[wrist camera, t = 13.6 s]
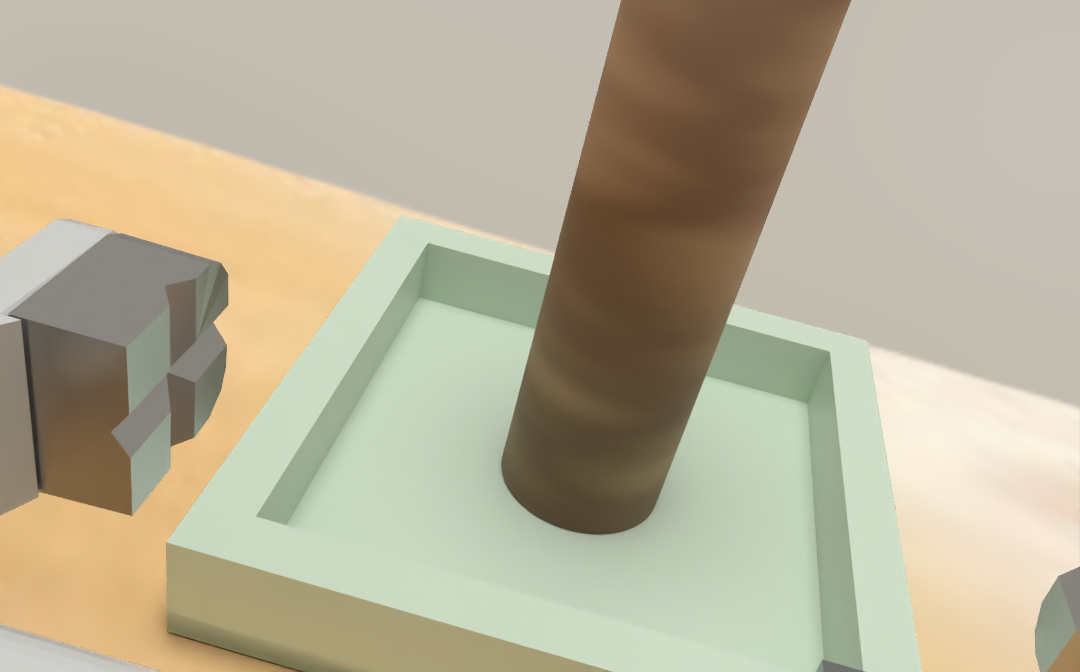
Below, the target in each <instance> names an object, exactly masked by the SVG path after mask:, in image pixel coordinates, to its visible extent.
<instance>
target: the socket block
mask: <svg viewBox="0 0 1080 672" xmlns="http://www.w3.org/2000/svg"><path fill="white" fill-rule="evenodd" d="M816 672H865V671H861V670H858V669H854V668H851V667H847V666H844V665H840V664H837V663H833V662H830V661H826V660H823V659H822V661H821V663H820V665H819V667H818V669H817V670H816Z"/></svg>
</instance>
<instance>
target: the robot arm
mask: <svg viewBox="0 0 1080 672" xmlns="http://www.w3.org/2000/svg"><path fill="white" fill-rule="evenodd" d="M227 306H228V273H227V272H226V270H225V269H224V267H223V266H222V264H221V263H220V262H216V261H213V260H210V259H206V258H203V257H200V256H196V255H193V254H189V253H186V252H183V251H179V250H176V249H173V248H169V247H166V246H162V245H159V244H156V243H152V242H149V241H146V240H142V239H139V238H135V237H132V236H129V235H125V234H122V233H121V234H118V233H116V232H115V231H113V230H109V229H105V228H101V227H98V226H94V225H90V224H86V223H82V222H79V221H75V220H71V219H56V220H54V221H53V222H51V223H50V224H48V225H47V226H46V227H44V228H43V229H41V230H40V231H39V232H37V233H36V234H34V235H33V236H32V237H30V238H29V239H27V240H26V241H24V242H23V243H22V244H20V245H19V246H17V247H16V248H15V249H13V250H12V251H10V252H9V253H8V254H6V255H5V256H3V257H2V258H0V515H2V514H4V513H6V512H8V511H11V510H13V509H15V508H17V507H19V506H21V505H23V504H25V503H27V502H29V501H31V500H33V499H35V498H37V497H38V496H39V492H41V493H45V494H49V495H53V496H57V497H61V498H65V499H69V500H72V501H76V502H80V503H84V504H88V505H92V506H96V507H99V508H103V509H107V510H111V511H115V512H119V513H123V514H126V515H130V516H133V514H134V513H135V512H136V511H137V509H138V508H139V507H140V506H141V504H142V503H143V502H144V501H145V499H146V498H147V497H148V496H149V494H150V493H151V492H152V490H153V489H154V488H155V487H156V485H157V484H158V483H159V482H160V480H161V479H162V478H163V477H164V475H165V474H166V473H167V472H168V470H169V469H170V446H173V445H176V444H178V443H181V442H184V441H186V440H189V439H192V438H194V437H195V436H196V434H197V433H198V432H199V430H200V429H201V428H202V426H203V425H204V424H205V422H206V421H207V420H208V418H209V416H210V414H211V412H212V409H213V407H214V405H215V403H216V400H217V398H218V396H219V393H220V391H221V387H222V382H223V378H224V373H225V368H226V351H227V344H226V343H225V341H224V339H223V338H222V336H221V335H220V333H219V331H218V330H217V328H216V327H215V325H214V323H213V322H214V320H215V319H216V318H217V317H218V316H219V315H220V314H221V313H222V311H223V310H224V309H225V308H226V307H227ZM1035 648H1036V657H1037V661H1038V665H1039V669H1040V672H1080V567H1078V568H1076V569H1074V570H1071V571H1069V572H1067V573H1065V574H1062V575H1060V576H1058V578H1057V580H1056V581H1055V583H1054V584H1053V586H1052V588H1051V589H1050V591H1049V592H1048V594H1047V596H1046V597H1045V599H1044V600H1043V602H1042V605H1041V609H1040V613H1039V617H1038V621H1037V625H1036V629H1035ZM0 672H162V671H159V670H156V669H152V668H149V667H145V666H142V665H139V664H135V663H132V662H129V661H125V660H122V659H118V658H115V657H112V656H108V655H105V654H102V653H98V652H95V651H91V650H88V649H85V648H81V647H78V646H74V645H71V644H68V643H64V642H61V641H58V640H54V639H51V638H47V637H44V636H41V635H37V634H34V633H31V632H27V631H24V630H20V629H17V628H14V627H10V626H7V625H3V624H0Z"/></svg>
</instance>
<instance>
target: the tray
mask: <svg viewBox="0 0 1080 672" xmlns="http://www.w3.org/2000/svg"><path fill="white" fill-rule="evenodd" d="M553 260H554V256H551V255H547V254H543V253H540V252H536V251H532V250H529V249H525V248H521V247H518V246H514V245H510V244H506V243H503V242H499V241H495V240H492V239H488V238H484V237H480V236H477V235H473V234H469V233H466V232H462V231H458V230H454V229H451V228H447V227H443V226H440V225H436V224H432V223H428V222H425V221H421V220H417V219H414V218H410V217H406V216H403V215H401V216H400V217H399V218H398V220H397V221H396V223H395V224H394V225H393V227H392V228H391V230H390V231H389V232H388V234H387V235H386V237H385V238H384V239H383V241H382V242H381V244H380V245H379V246H378V248H377V249H376V251H375V252H374V253H373V255H372V256H371V258H370V259H369V260H368V262H367V263H366V264H365V266H364V267H363V269H362V270H361V271H360V273H359V274H358V276H357V277H356V278H355V280H354V281H353V283H352V284H351V285H350V287H349V288H348V290H347V291H346V292H345V294H344V295H343V297H342V298H341V299H340V301H339V302H338V304H337V305H336V306H335V308H334V309H333V311H332V312H331V313H330V315H329V316H328V317H327V319H326V320H325V322H324V323H323V324H322V326H321V327H320V329H319V330H318V331H317V333H316V334H315V336H314V337H313V338H312V340H311V341H310V343H309V344H308V345H307V347H306V348H305V350H304V351H303V352H302V354H301V355H300V357H299V358H298V359H297V361H296V362H295V364H294V365H293V366H292V368H291V369H290V370H289V372H288V373H287V375H286V376H285V377H284V379H283V380H282V382H281V383H280V384H279V386H278V387H277V389H276V390H275V391H274V393H273V394H272V396H271V397H270V398H269V400H268V401H267V403H266V404H265V405H264V407H263V408H262V410H261V411H260V412H259V414H258V415H257V417H256V418H255V419H254V421H253V422H252V423H251V425H250V426H249V428H248V429H247V430H246V432H245V433H244V435H243V436H242V437H241V439H240V440H239V442H238V443H237V444H236V446H235V447H234V449H233V450H232V451H231V453H230V454H229V456H228V457H227V458H226V460H225V461H224V463H223V464H222V465H221V467H220V468H219V470H218V471H217V472H216V474H215V475H214V476H213V478H212V479H211V481H210V482H209V483H208V485H207V486H206V488H205V489H204V490H203V492H202V493H201V495H200V496H199V497H198V499H197V500H196V502H195V503H194V504H193V506H192V507H191V509H190V510H189V511H188V513H187V514H186V516H185V517H184V518H183V520H182V521H181V523H180V524H179V525H178V527H177V528H176V529H175V531H174V532H173V534H172V535H171V536H170V538H169V539H168V541H167V542H166V565H167V632H170V633H173V634H177V635H180V636H184V637H187V638H190V639H194V640H197V641H201V642H204V643H207V644H211V645H214V646H218V647H221V648H224V649H228V650H231V651H235V652H238V653H241V654H245V655H248V656H252V657H255V658H258V659H262V660H265V661H269V662H272V663H275V664H279V665H282V666H286V667H289V668H292V669H296V670H299V671H303V672H816V670H817V669H818V667H819V665H820V663H821V661H822V659H823V660H826V661H830V662H833V663H837V664H840V665H844V666H847V667H851V668H854V669H858V670H861V671H865V672H922V667H921V661H920V655H919V649H918V643H917V637H916V631H915V625H914V619H913V613H912V607H911V601H910V595H909V589H908V583H907V577H906V571H905V565H904V559H903V553H902V547H901V540H900V534H899V528H898V522H897V516H896V510H895V504H894V498H893V492H892V486H891V480H890V474H889V468H888V462H887V456H886V450H885V444H884V438H883V432H882V426H881V420H880V414H879V408H878V402H877V395H876V389H875V383H874V377H873V371H872V365H871V359H870V353H869V347H868V341H866V340H863V339H859V338H855V337H851V336H848V335H844V334H840V333H837V332H833V331H829V330H825V329H822V328H818V327H814V326H811V325H807V324H803V323H799V322H796V321H792V320H788V319H785V318H781V317H777V316H773V315H770V314H766V313H762V312H759V311H755V310H751V309H748V308H744V307H740V306H736V305H733V307H732V309H731V312H730V314H729V317H728V319H727V322H726V325H725V327H724V330H723V332H722V335H721V338H720V340H719V343H718V345H717V348H716V350H715V353H714V356H713V358H712V361H711V363H710V366H709V368H708V371H707V374H706V376H705V379H704V381H703V384H702V387H701V389H700V392H699V394H698V397H697V399H696V402H695V405H694V407H693V410H692V412H691V415H690V418H689V420H688V423H687V425H686V428H685V430H684V433H683V436H682V438H681V441H680V443H679V446H678V449H677V451H676V454H675V456H674V459H673V461H672V464H671V467H670V469H669V472H668V474H667V477H666V480H665V482H664V485H663V487H662V490H661V492H660V495H659V498H658V500H657V503H656V505H655V507H654V509H653V511H652V513H651V514H650V515H649V517H648V518H647V519H646V520H644V521H643V522H642V523H641V524H639V525H637V526H636V527H634V528H631V529H629V530H626V531H623V532H619V533H613V534H586V533H580V532H575V531H571V530H567V529H564V528H561V527H559V526H556V525H554V524H552V523H549V522H547V521H545V520H543V519H542V518H540V517H538V516H537V515H535V514H534V513H532V512H531V511H530V510H528V509H527V508H526V507H525V506H524V505H522V504H521V503H520V502H519V501H518V500H517V498H516V497H515V496H514V495H513V494H512V492H511V491H510V489H509V488H508V486H507V484H506V482H505V479H504V476H503V473H502V467H501V462H502V455H503V451H504V447H505V444H506V440H507V436H508V432H509V428H510V424H511V421H512V417H513V413H514V409H515V405H516V401H517V398H518V394H519V390H520V386H521V382H522V379H523V375H524V371H525V367H526V363H527V359H528V356H529V352H530V348H531V344H532V340H533V336H534V333H535V329H536V325H537V321H538V317H539V313H540V310H541V306H542V302H543V298H544V294H545V291H546V287H547V283H548V279H549V275H550V271H551V268H552V264H553Z"/></svg>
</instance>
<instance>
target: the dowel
mask: <svg viewBox="0 0 1080 672" xmlns="http://www.w3.org/2000/svg"><path fill="white" fill-rule="evenodd" d="M850 2H851V0H621V4H620V7H619V11H618V15H617V19H616V23H615V27H614V30H613V34H612V38H611V42H610V46H609V50H608V53H607V57H606V61H605V65H604V69H603V72H602V77H601V80H600V84H599V88H598V92H597V95H596V99H595V103H594V107H593V111H592V114H591V118H590V122H589V126H588V130H587V134H586V138H585V142H584V145H583V149H582V153H581V157H580V160H579V165H578V168H577V172H576V176H575V180H574V183H573V187H572V191H571V195H570V199H569V202H568V206H567V210H566V214H565V218H564V222H563V225H562V229H561V233H560V237H559V241H558V245H557V248H556V252H555V256H554V260H553V264H552V268H551V271H550V275H549V279H548V283H547V287H546V291H545V294H544V298H543V302H542V306H541V310H540V313H539V317H538V321H537V325H536V329H535V333H534V336H533V340H532V344H531V348H530V352H529V356H528V359H527V363H526V367H525V371H524V375H523V379H522V382H521V386H520V390H519V394H518V398H517V401H516V405H515V409H514V413H513V417H512V421H511V424H510V428H509V432H508V436H507V440H506V444H505V447H504V451H503V455H502V462H501V467H502V473H503V476H504V479H505V482H506V484H507V486H508V488H509V489H510V491H511V492H512V494H513V495H514V496H515V497H516V498H517V500H518V501H519V502H520V503H521V504H522V505H524V506H525V507H526V508H527V509H528V510H530V511H531V512H532V513H534V514H535V515H537V516H538V517H540V518H542V519H543V520H545V521H547V522H549V523H552V524H554V525H556V526H559V527H561V528H564V529H567V530H571V531H575V532H580V533H586V534H613V533H619V532H623V531H626V530H629V529H631V528H634V527H636V526H637V525H639V524H641V523H642V522H643V521H644V520H646V519H647V518H648V517H649V515H650V514H651V513H652V511H653V509H654V507H655V505H656V503H657V500H658V498H659V495H660V492H661V490H662V487H663V485H664V482H665V480H666V477H667V474H668V472H669V469H670V467H671V464H672V461H673V459H674V456H675V454H676V451H677V449H678V446H679V443H680V441H681V438H682V436H683V433H684V430H685V428H686V425H687V423H688V420H689V418H690V415H691V412H692V410H693V407H694V405H695V402H696V399H697V397H698V394H699V392H700V389H701V387H702V384H703V381H704V379H705V376H706V374H707V371H708V368H709V366H710V363H711V361H712V358H713V356H714V353H715V350H716V348H717V345H718V343H719V340H720V338H721V335H722V332H723V330H724V327H725V325H726V322H727V319H728V317H729V314H730V312H731V309H732V307H733V304H734V301H735V298H736V296H737V294H738V291H739V288H740V285H741V283H742V280H743V278H744V276H745V273H746V270H747V268H748V265H749V263H750V260H751V257H752V255H753V252H754V249H755V247H756V245H757V242H758V239H759V237H760V234H761V232H762V229H763V226H764V224H765V221H766V219H767V216H768V213H769V211H770V208H771V206H772V203H773V201H774V198H775V195H776V193H777V190H778V188H779V185H780V182H781V180H782V177H783V175H784V172H785V170H786V167H787V165H788V162H789V159H790V157H791V154H792V152H793V149H794V146H795V144H796V141H797V138H798V136H799V133H800V131H801V128H802V126H803V123H804V120H805V118H806V115H807V113H808V110H809V108H810V105H811V102H812V100H813V97H814V95H815V92H816V89H817V87H818V84H819V82H820V79H821V77H822V74H823V71H824V69H825V66H826V64H827V61H828V59H829V56H830V54H831V51H832V48H833V46H834V43H835V41H836V38H837V35H838V33H839V30H840V28H841V25H842V23H843V20H844V17H845V15H846V12H847V10H848V7H849V4H850Z"/></svg>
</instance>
